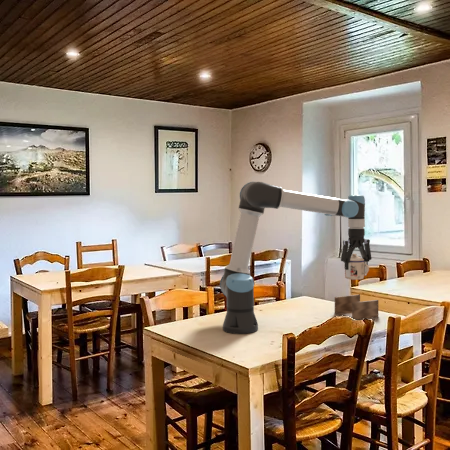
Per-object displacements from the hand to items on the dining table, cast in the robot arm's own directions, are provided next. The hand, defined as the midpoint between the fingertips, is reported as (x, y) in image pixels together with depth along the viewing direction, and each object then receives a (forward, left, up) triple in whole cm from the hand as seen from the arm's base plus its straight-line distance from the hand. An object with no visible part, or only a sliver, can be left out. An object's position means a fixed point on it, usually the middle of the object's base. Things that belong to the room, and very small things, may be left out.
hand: (356, 275), depth 253 cm
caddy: (0, 0, -19) cm, 19 cm away
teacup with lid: (+1, 0, -2) cm, 2 cm away
